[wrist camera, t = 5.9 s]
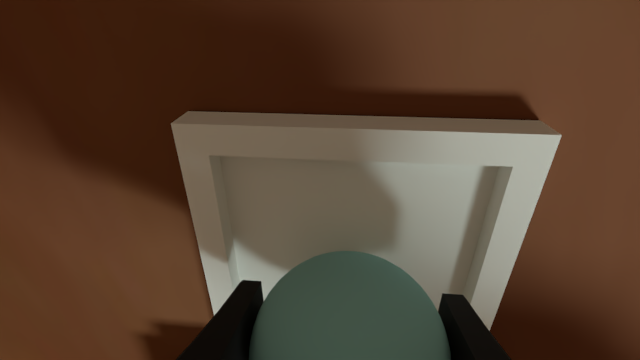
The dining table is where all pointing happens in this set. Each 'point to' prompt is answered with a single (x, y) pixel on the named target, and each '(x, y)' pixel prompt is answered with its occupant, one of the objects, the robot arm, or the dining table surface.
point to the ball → (348, 313)
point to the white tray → (363, 196)
